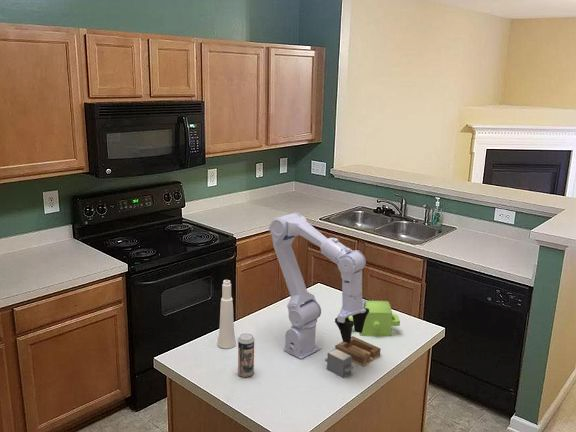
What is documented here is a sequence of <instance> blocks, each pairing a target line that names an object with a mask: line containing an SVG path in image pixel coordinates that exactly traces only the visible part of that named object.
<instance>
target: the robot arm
mask: <svg viewBox="0 0 576 432" xmlns="http://www.w3.org/2000/svg"><path fill="white" fill-rule="evenodd" d="M268 229H269V233H270V235H271V238H272V246H273V249H274V251H275V255H276V258H277V261H278V263H279V266H280V269H281V272H282V275H283V278H284V281H285V284H286V287H287V289H288V293H289V296H290V299H289V301H288V304H287V306H286V307H287V310H288V319H289V322H290V323H291V327H290V328H288V329H287V330H286V332H285V345H284V347H283V351H284V352H286V353H288V354H290V355H292V356H294V357H296V358H297V359H300V360H302V359H304V358H306V357H308V356H311V355H312V354H313V353H316V352H317V351H320V350H321V346H318V345H316V331H317V322H318V319H319V318H320V317H321V316H322V307H321V305H320V303H319V302H318V301H317V299H316V298H315V295H314V294H312V293H310V292H309V291H308V289H307V286H306V284H305V280H304V277H303V274H302V272H301V270H300V267H299V264H298V261H297V258H296V255H295V252H294V250H293V247H292V244H293V242H294V240H295V238H297V236H298V237H299V236H300V237H302V238H304V239H306V240H307V241H309V243H312V244H313V245H315V246H317V247H319V248H320V253H321V254H322V255H323V256H325V257H326V258H328V259H329V260H330V261H331V262H332V263H334V264H335V265H337V269H338V271H339V272H340V277H341V287H342V288H341V292H342V293H341V295H342V297H341V298H342V299H341V301H342V303H341V304H342V307H341V309H340V311H339V313H338V314H337V316H336V317H335V318H334V323H335V325H336V326H337V328H338V329H339V333H340V336H341V340H342V342H347V343H350V341H351V337H352V332H353V329H354V332H355V333H359V334H360V333H362V331H363V327H364V322H365V319H366V317H367V315H368V313H369V309H368V308H364V307H366V301H367V299H363V269H364V268H365V267H366V264H367V262H366V256H365V255H364V254H363V253H362V252H361V250H359V249H358V250H357V249H355V250H352V248H350V247H347V246H346V245H344V244H343V243H342V242H340V241H339V239H338V238H336V237H329V238H328V237H326V236H325V235H323V234H322V232H320V231H319V230H318V229H316V228H315V227H314V226H312V225H311V224H310V223H309V222H308V220H307V218H306V217H305V216H303V215H301V214H300V213H299V212H296V211H294V212H291V213H289V214H286V215H282V216H276V217H274V218H272V220H271V221H270V224H269V226H268ZM349 317H353V321H350V319H349Z"/></svg>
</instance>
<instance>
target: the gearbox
mask: <svg viewBox="0 0 576 432" xmlns="http://www.w3.org/2000/svg"><path fill="white" fill-rule="evenodd" d="M364 308H368V309H369V313H368V315H367V317H366V319H365V322H364V327H363V331H362V333H359V336H363V337H364V336H367V337H387V336H388V337H389V336H391V333H392V327H397V326H398V327H399V326H400V325H401V319H400V318H399V315H398V314H394V313H393V310H392V307H391V304H390V302H389V301H388V300H366V307H364ZM348 318H349V319H350V321H353V317H352V316H350V317H348Z"/></svg>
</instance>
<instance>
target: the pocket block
mask: <svg viewBox="0 0 576 432" xmlns="http://www.w3.org/2000/svg"><path fill="white" fill-rule="evenodd" d="M334 347H335V348H334V350H335V349H337V350H339V351H342V352H344V353H346V354H348V355H350V356H352V362H353V363H354V364H357V365H358V366H362V367H364V366H366V365H368V364H369V363H371V362H372V361H374V360H376V359H377V358H379V357H381V351H382V350H381V348H380V347H378V346H376V345H374V344H372V343H369V342H367V341H364V340H363V339H360V338H357V337H355V336H352V335H351V341H350V343H347V342H343V341H341V342H339V343H336V344H335V346H334Z"/></svg>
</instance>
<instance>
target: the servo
mask: <svg viewBox="0 0 576 432" xmlns="http://www.w3.org/2000/svg"><path fill="white" fill-rule="evenodd" d="M324 362H326V370H327V371H329V372H330V373H332V374H333V375H336V376H338V377H340V378H345V377H346V376H348V375H350V374H351V373H352V370H353V369H354V368H355V367H354V365H352V362H353V361H352V356H350V355H348V354H346V353H344V352H342V351H339V350H337V349H335V348H334V349H333V350H331V351H330V352H328V353H327V356H326V358H324Z"/></svg>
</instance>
